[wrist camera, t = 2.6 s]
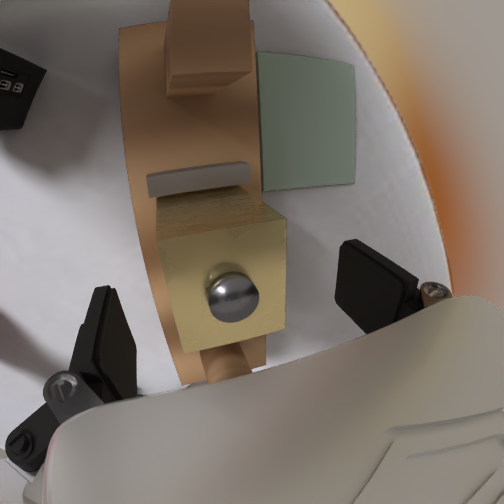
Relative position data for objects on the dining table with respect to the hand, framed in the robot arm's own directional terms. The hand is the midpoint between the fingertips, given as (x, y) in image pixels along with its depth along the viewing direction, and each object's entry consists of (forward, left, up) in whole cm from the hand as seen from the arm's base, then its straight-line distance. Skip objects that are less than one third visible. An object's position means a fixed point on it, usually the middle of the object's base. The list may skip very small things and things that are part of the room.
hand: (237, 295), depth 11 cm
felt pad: (-6, +9, -10) cm, 14 cm away
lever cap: (0, 0, -6) cm, 6 cm away
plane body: (0, 0, -10) cm, 10 cm away
